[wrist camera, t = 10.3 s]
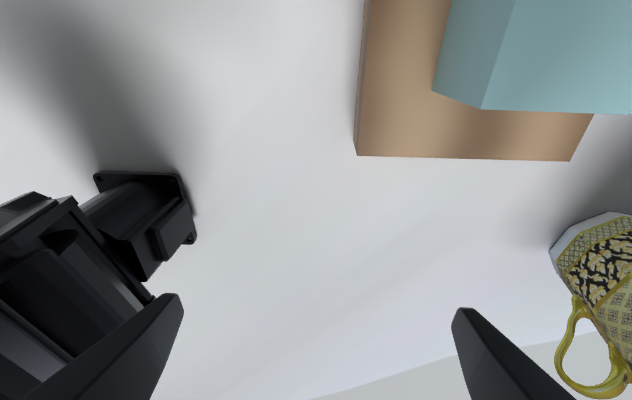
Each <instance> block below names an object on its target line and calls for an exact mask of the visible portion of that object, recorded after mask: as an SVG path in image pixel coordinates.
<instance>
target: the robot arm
mask: <svg viewBox="0 0 632 400" xmlns="http://www.w3.org/2000/svg"><path fill="white" fill-rule="evenodd" d="M101 177H102V178H103V179H102V178H101ZM171 178H172V179H173V180H174V181H175V182H173V181H172V180H171ZM93 179H94V181H95V183H96V186H97V188H98V190H99V192H100V194H99V195H97V196H95V197H94V198H92V199H90V200H89V201H87V202H85V203H84V204H82V205H81V206H79V207H78V204H79V203H78V202H77V201H76V200H75V198H74V197H73V196H72V195H70V196H67V197H63V198H59V199H52V198H51V197H46V196H44V195H42V194H39V193H37V192H34V191H33V192H29V193H25V194H23V195H21V196H19V197H17V198H14V199H12V200H10V201H8V202H6V203H4V204H1V205H0V400H150V397H151V395H152V393H153V391H154V389H155V387H156V385H157V383H158V380H159V378H160V376H161V374H162V372H163V370H164V367H165V365H166V362H167V360H168V357H169V355H170V352H171V349H172V346H173V344H174V341H175V338H176V335H177V332H178V330H179V327H180V324H181V321H182V319H183V315H184V309H183V306H182V304H181V301H180V298H179V296H178V295H177V294H175V293H164V294H162V295H161V296H159V297H158V298H156V297H155V296H154V295H151V294H150V293H149V291H148V290H147V289H146V288H145V286H144V285H143V284H142V283H141V282H147V281H148V279H149V278H150V277H151V276H152V274H153V273H154V272H155V271H156V269H157V268H158V267H159V266H160V264H161V263H162V262H163V261H166V262H167V261H168V260H169V259H170V258H171V257H172V256H173V254H174V253H175V252H176V250H177V249H178V248H179V247H180V245H181V244H185V245H191V244H194V242H195V241H196V234H195V230H194V227H195V226H194V222H193V218H192V215H191V211H190V207H189V203H188V201H187V200H186V197H185V193H184V189H183V186H182V182H181V179H180V177H179V176H178V175H177V174H175V173H154V172H121V171H99V172H97V173H95V174H94V175H93ZM189 238H190V239H189ZM451 329H452V334H453V338H454V341H455V345H456V349H457V353H458V356H459V360H460V364H461V368H462V371H463V375H464V379H465V382H466V385H467V388H468V391H469V394H470V396H471V399H472V400H576V399H575V398H574V397H573V396H572V395H571V394H570V393H568V392H567V391H566V390H565V389H564V388H563V387H562V386H560V385H559V384H558V383H557V382H556V381H555V380H554V379H553V378H551V377H550V376H549V375H548V374H547V373H546V372H545V371H544V370H543V369H541V368H540V367H539V366H538V365H537V364H536V363H535V362H533V361H532V360H531V359H530V358H529V357H528V356H527V355H525V353H523V352H522V351H521V350H520V349H519V348H518V347H517V346H516V345H514V344H513V343H512V342H511V341H510V340H509V339H508V338H507V337H505V336H504V335H503V334H502V333H501V332H500V331H499V330H498V329H496V328H495V327H494V326H493V325H492V324H491V323H490V322H489V321H487V320H486V319H485V318H484V317H483V316H482V315H481V314H480V313H478V312H477V311H476V310H475V309H473V308H466V307H460V308H458V310H457V312H456V314H455V316H454V319H453V321H452V324H451Z"/></svg>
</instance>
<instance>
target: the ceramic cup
mask: <svg viewBox="0 0 632 400" xmlns="http://www.w3.org/2000/svg"><path fill="white" fill-rule="evenodd" d="M549 254H550V257H551V260H552V263H553V266H554V268H555V270H556V272H557V274H558V275H559V276H560V278H561V279H562V280H563V282H564V283H565V285H566V286H567V287H568V289H569V290H570V292H571V293H572V295H573V297H572V298H571V299H572V305H573V311H572V313H571V315H570V317H569V319H568V324H567V330H566V333H565V335H564V337H563V339H562V341H561V343H560V344H559V346H558V348H557V350H556V353H555V357H554V364H555V368H556V371H557V373H558V375H559V376H560V378H561V379H562V380H563V381H564V382H565V383H566V384H567V385H568V386H570V387H571V388H572V389H574V390H575V391H576V392H578V393H580V394H582V395H584V396H586V397H590V398H594V399H611V398H614V397H617V396H618V395H620V394H621V393H622V392H623V391H624V390H625V388H626V386H627V384H629V383H632V215H627V214H622V213H617V212H605V213H603V214H600V215H598V216H595V217H593V218H590V219H588V220H585V221H583V222H580V223H578V224H575V225H573V226H570V227H569V228H568V229H567V230H566V231H565V233H564V234H563V235H562V236H561V238H560V239H559V240H558V241H557V242H556V244H555V245H554V246H553V247H552V249H551V250H550V251H549ZM582 317H585V318H587V319H590V320H591V321H592V323H593V324H594V326H595V327H596V328H597V330H598V332H599V333H600V335H601V336H602V337H603V339H604V340H605V342H606V343H607V344H608V348H609V358H610V361H611V365H612V367H611V372H610V374H609V376H608V378H607V379H606V380H605V381H604V382H603V383H601V384H599V385H595V386H584V385H581V384H578V383H576V382H574V381H572V380H571V379H570V378H569V377H568V376H567V375H566V374H565V373H564V371H563V368H562V359H563V357H564V355H565V353H566V351H567V349H568V347H569V346H570V344H571V342H572V339H573V337H574V333H575V325H576V322H577V321H578V320H579V319H580V318H582Z"/></svg>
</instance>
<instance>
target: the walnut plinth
mask: <svg viewBox="0 0 632 400" xmlns="http://www.w3.org/2000/svg"><path fill="white" fill-rule="evenodd" d="M451 2H452V0H365V6H364V18H363V30H362V42H361V54H360V65H359V77H358V89H357V101H356V113H355V125H354V137H353V142H354V146H355V149H356V153H357V156H384V157H421V158H458V159H494V160H531V161H568V162H569V161H570V159H571V158H572V156H573V154H574V152H575V150H576V148H577V146H578V144H579V142H580V140H581V138H582V137H583V135H584V133H585V131H586V129H587V127H588V125H589V123H590V121H591V119H592V117H593V115H594V114H592V113H565V112H538V111H511V110H484V109H478V108H475V107H473V106H470V105H467V104H465V103H462V102H459V101H457V100H454V99H451V98H449V97H446V96H443V95H441V94H438V93H436V92H433V91H431V90H432V85H433V81H434V77H435V72H436V68H437V63H438V59H439V55H440V50H441V46H442V42H443V37H444V33H445V28H446V24H447V20H448V15H449V11H450V7H451Z"/></svg>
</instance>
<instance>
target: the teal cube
mask: <svg viewBox="0 0 632 400" xmlns="http://www.w3.org/2000/svg"><path fill="white" fill-rule="evenodd" d="M431 91H433V92H436V93H438V94H441V95H443V96H446V97H449V98H451V99H454V100H457V101H459V102H462V103H465V104H467V105H470V106H473V107H475V108H478V109H484V110H511V111H538V112H565V113H592V114H619V115H630V114H631V113H632V0H452V2H451V7H450V11H449V15H448V20H447V24H446V28H445V33H444V37H443V42H442V46H441V50H440V55H439V59H438V63H437V68H436V72H435V77H434V81H433V85H432V90H431Z"/></svg>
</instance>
